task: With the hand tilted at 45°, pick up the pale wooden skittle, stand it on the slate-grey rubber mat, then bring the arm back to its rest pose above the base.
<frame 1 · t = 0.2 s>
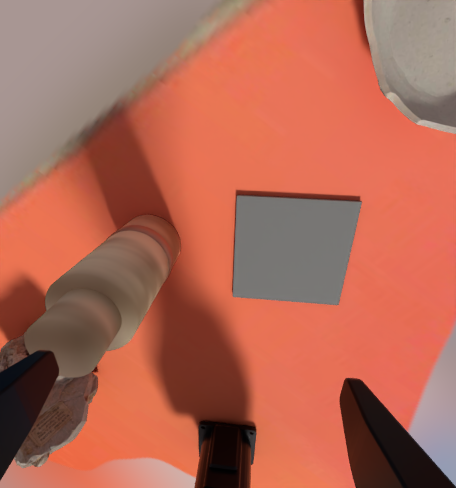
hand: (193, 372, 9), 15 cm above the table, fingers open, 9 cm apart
rock: (64, 351, 30), on the table
skittle: (151, 243, 24), on the table
mat: (290, 252, 23), on the table
pottery shard: (436, 23, 16), on the table
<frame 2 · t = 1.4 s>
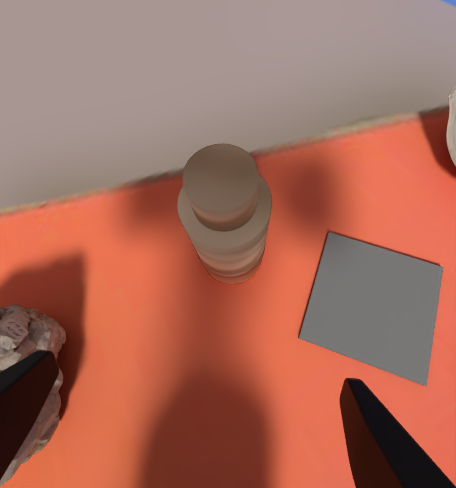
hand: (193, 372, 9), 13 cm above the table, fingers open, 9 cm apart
rock: (39, 369, 22), on the table
skittle: (232, 254, 24), on the table
mat: (371, 302, 22), on the table
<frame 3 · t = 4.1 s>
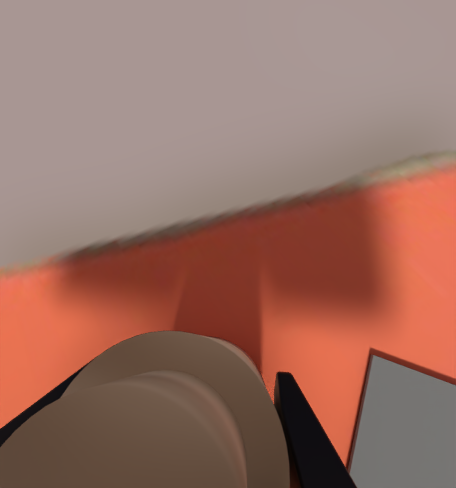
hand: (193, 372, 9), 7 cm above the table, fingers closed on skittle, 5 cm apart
skittle: (212, 390, 14), on the table, touching gripper
when the fingers open (8 cm above the table, at t = 8.1 s): skittle stays where it is, resting on mat.
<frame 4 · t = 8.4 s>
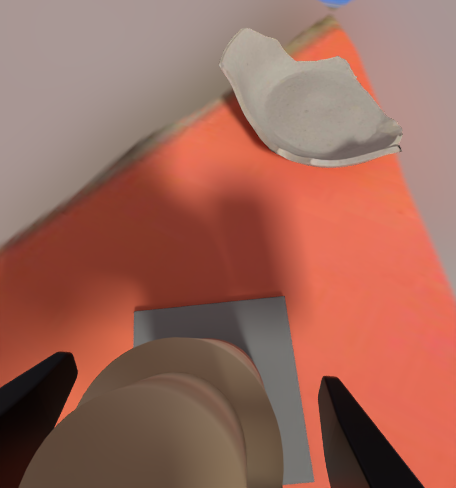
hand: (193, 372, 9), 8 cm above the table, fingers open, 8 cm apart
skittle: (214, 388, 15), resting on mat
mat: (215, 386, 16), on the table
pottery shard: (307, 130, 21), on the table
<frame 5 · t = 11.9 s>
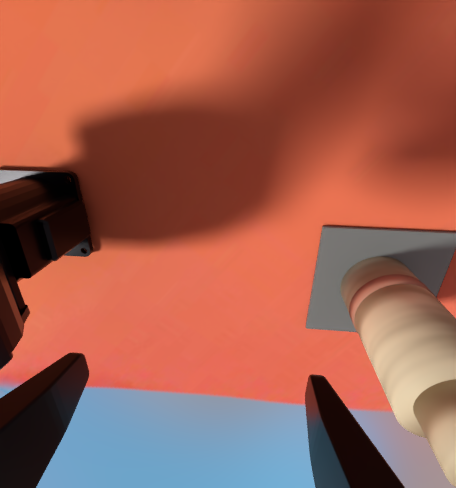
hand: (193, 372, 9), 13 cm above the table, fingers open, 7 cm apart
skittle: (375, 285, 21), resting on mat
mat: (374, 284, 21), on the table
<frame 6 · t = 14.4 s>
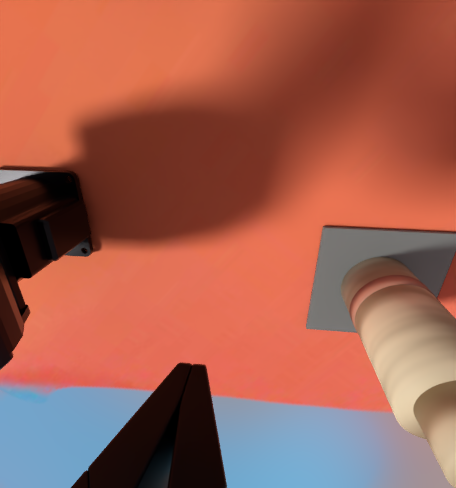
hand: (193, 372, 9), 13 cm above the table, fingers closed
skittle: (375, 286, 21), resting on mat
mat: (374, 284, 21), on the table
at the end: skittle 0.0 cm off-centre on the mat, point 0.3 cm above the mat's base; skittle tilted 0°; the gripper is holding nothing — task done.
